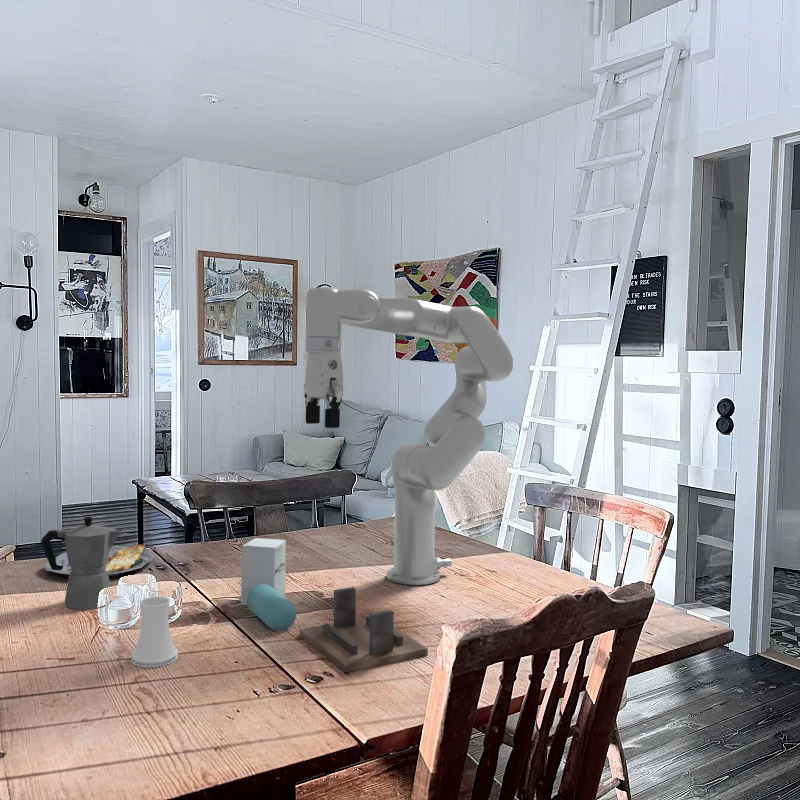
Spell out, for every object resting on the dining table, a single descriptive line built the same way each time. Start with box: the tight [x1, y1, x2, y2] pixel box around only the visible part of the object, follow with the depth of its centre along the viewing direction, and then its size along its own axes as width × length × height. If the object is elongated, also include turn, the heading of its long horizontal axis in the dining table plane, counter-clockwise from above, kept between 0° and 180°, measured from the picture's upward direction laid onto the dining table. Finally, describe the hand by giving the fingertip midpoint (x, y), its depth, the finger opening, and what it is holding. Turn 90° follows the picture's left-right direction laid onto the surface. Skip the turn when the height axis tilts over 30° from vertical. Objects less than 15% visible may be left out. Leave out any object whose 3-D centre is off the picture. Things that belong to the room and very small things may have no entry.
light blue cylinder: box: [246, 584, 298, 632], centre depth 151 cm, size 11×6×6 cm, turn 31°
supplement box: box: [240, 537, 287, 606], centre depth 162 cm, size 7×7×13 cm
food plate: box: [43, 544, 157, 577], centre depth 186 cm, size 25×23×4 cm
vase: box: [131, 596, 179, 668], centre depth 131 cm, size 8×8×10 cm
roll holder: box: [299, 586, 429, 673], centre depth 139 cm, size 16×19×8 cm
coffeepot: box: [40, 516, 123, 611], centre depth 158 cm, size 15×9×18 cm, turn 110°
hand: (322, 425), depth 167 cm, fingers open, 9 cm apart
